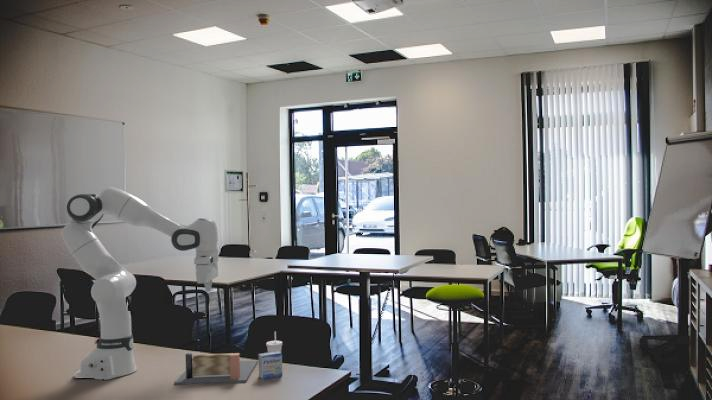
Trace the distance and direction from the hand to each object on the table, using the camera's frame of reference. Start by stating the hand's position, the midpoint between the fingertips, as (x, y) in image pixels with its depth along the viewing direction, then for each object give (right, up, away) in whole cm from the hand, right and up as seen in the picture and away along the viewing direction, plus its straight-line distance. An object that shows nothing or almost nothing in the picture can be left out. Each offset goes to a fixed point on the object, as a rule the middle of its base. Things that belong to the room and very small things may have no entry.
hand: (208, 291), depth 224 cm
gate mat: (+8, -29, -15) cm, 33 cm away
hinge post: (-1, -29, -22) cm, 37 cm away
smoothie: (+29, -29, -10) cm, 42 cm away
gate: (+9, -27, -21) cm, 36 cm away
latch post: (+16, -29, -24) cm, 41 cm away
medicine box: (+29, -29, -21) cm, 46 cm away
